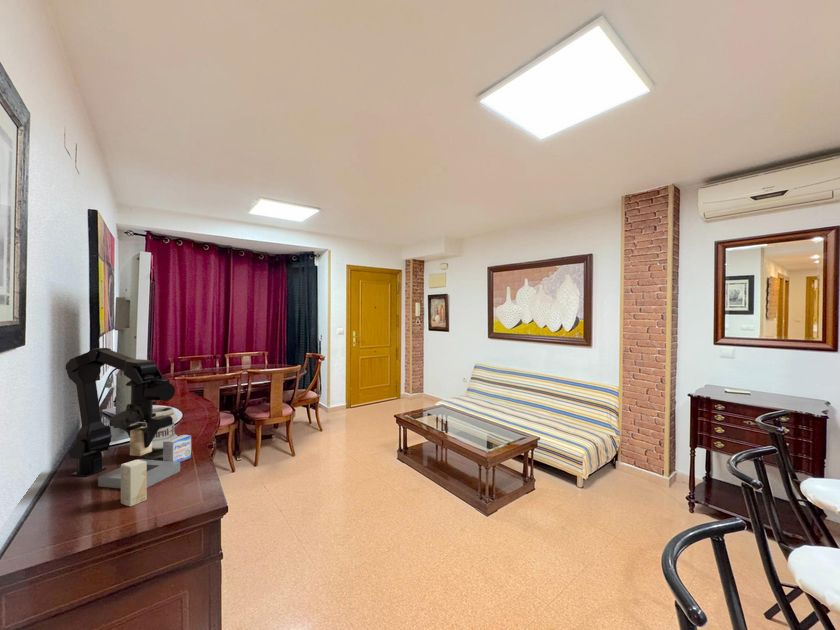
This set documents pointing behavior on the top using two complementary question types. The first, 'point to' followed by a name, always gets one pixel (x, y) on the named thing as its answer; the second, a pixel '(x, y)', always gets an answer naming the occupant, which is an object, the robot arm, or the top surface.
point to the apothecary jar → (161, 433)
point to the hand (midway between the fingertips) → (141, 446)
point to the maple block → (138, 443)
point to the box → (133, 482)
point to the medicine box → (177, 449)
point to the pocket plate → (154, 473)
